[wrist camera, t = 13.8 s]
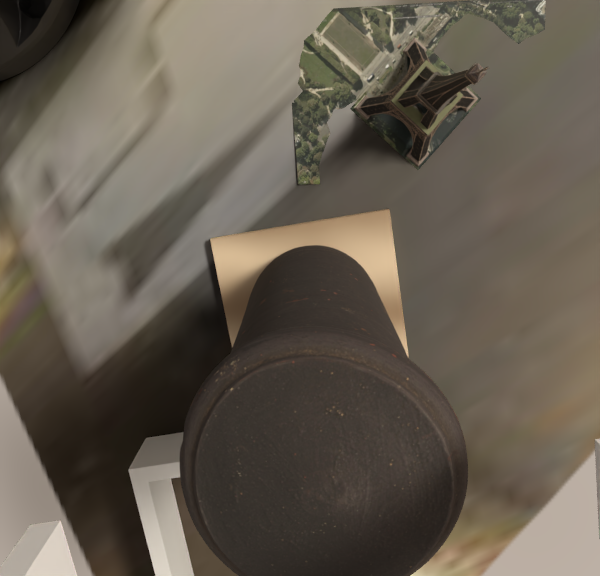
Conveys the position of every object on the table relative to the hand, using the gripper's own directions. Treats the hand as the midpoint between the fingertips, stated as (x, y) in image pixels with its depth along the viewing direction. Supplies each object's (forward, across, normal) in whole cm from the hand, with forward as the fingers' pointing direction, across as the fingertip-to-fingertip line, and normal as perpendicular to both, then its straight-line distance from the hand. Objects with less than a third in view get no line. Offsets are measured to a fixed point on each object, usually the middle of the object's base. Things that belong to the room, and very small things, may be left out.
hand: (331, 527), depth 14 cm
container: (+22, 0, -1) cm, 22 cm away
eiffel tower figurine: (+23, +8, +11) cm, 27 cm away
